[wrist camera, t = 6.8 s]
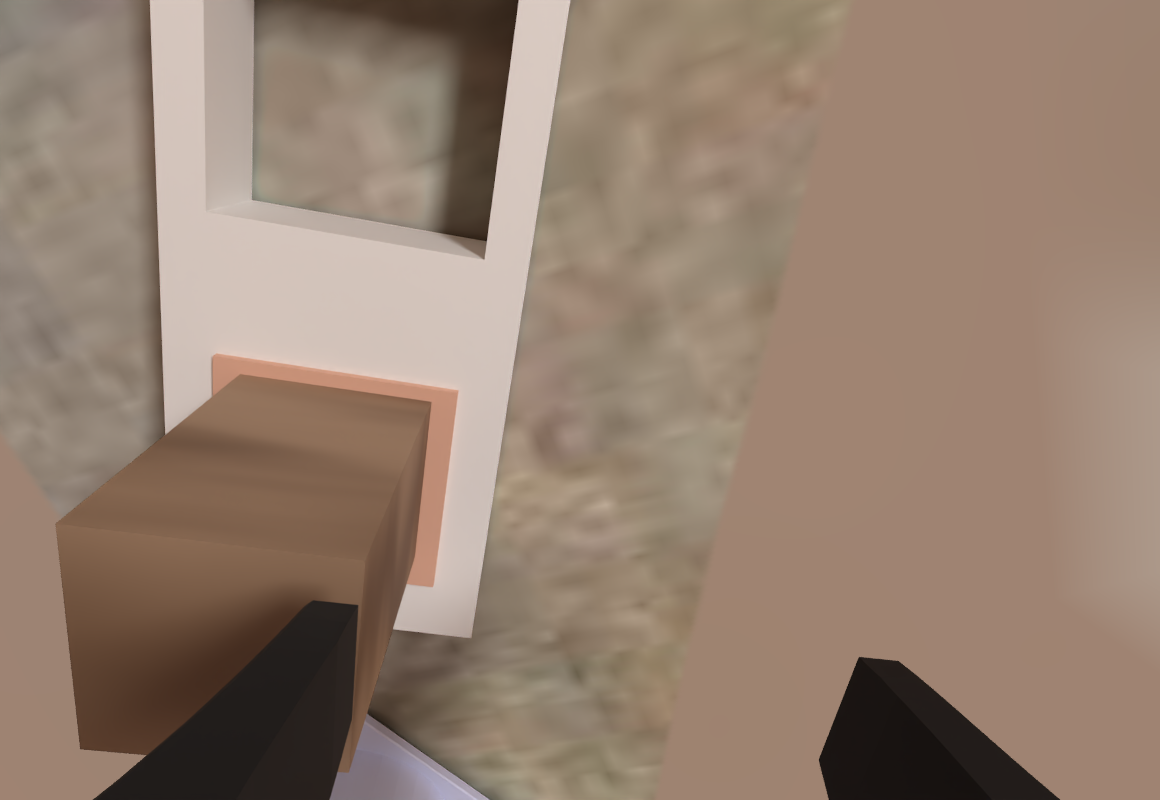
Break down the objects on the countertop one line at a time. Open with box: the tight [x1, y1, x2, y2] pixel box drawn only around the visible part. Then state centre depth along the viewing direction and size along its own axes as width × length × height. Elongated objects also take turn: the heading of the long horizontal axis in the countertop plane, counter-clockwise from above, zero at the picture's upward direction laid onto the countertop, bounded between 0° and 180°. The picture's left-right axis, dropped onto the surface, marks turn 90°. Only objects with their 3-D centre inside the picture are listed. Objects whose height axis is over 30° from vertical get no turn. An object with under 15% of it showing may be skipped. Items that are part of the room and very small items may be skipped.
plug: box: [56, 374, 431, 773], centre depth 14 cm, size 4×4×6 cm
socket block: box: [150, 0, 570, 638], centre depth 17 cm, size 18×8×3 cm, turn 170°
